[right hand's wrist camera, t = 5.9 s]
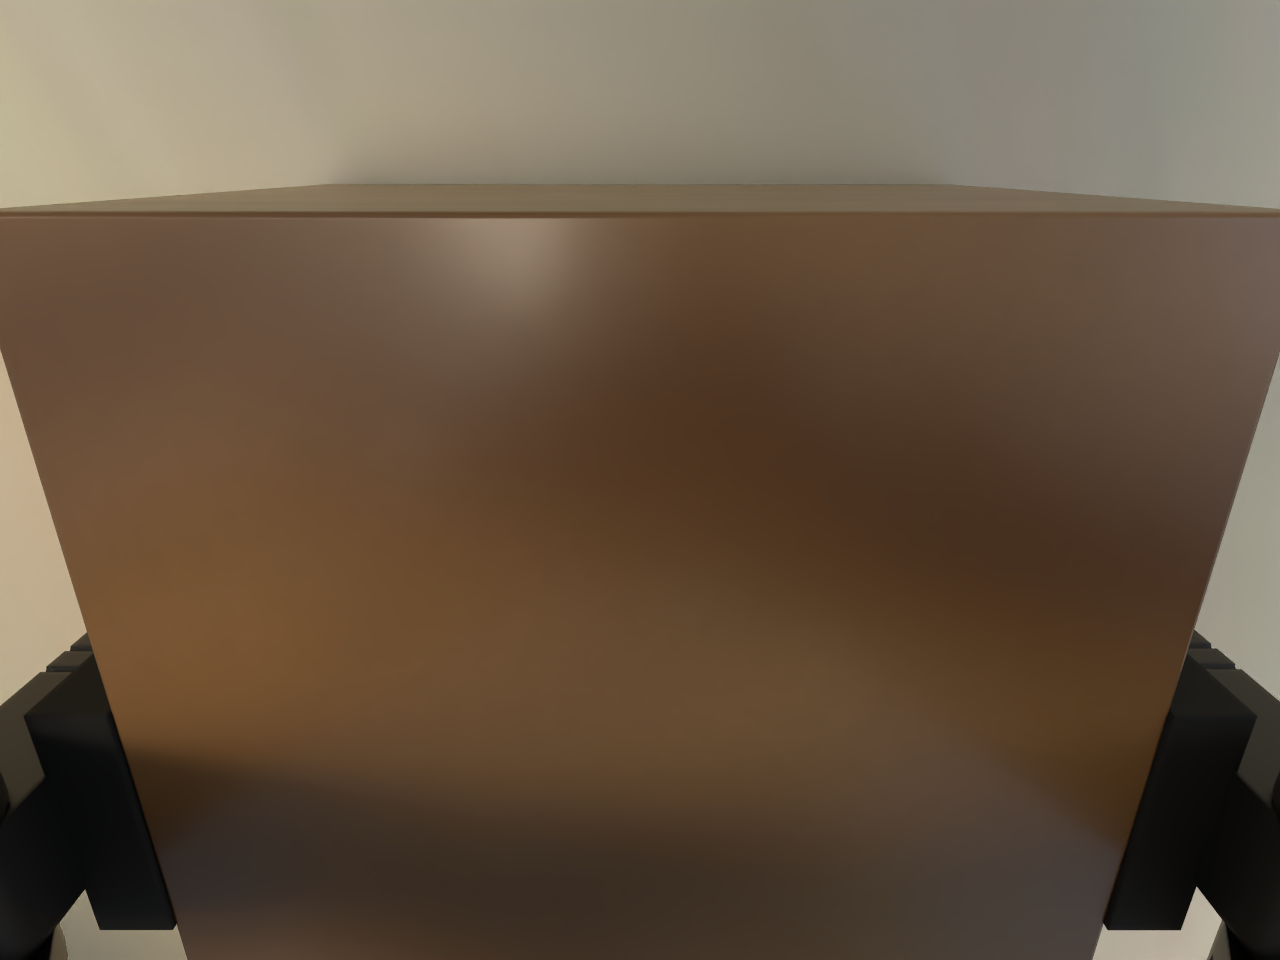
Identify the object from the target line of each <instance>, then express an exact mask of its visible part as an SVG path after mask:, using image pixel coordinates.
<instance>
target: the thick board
mask: <svg viewBox="0 0 1280 960" xmlns="http://www.w3.org/2000/svg"><path fill="white" fill-rule="evenodd" d="M0 349H1V352H2V356H3V359H4V362H5V365H6V369H7V372H8V375H9V379H10V382H11V385H12V388H13V392H14V395H15V398H16V401H17V405H18V408H19V411H20V414H21V418H22V421H23V424H24V427H25V431H26V434H27V437H28V440H29V444H30V447H31V450H32V453H33V457H34V460H35V463H36V467H37V470H38V473H39V476H40V480H41V483H42V486H43V489H44V493H45V496H46V499H47V502H48V506H49V509H50V512H51V515H52V519H53V522H54V525H55V528H56V532H57V535H58V538H59V541H60V545H61V548H62V551H63V555H64V558H65V561H66V564H67V568H68V571H69V574H70V577H71V581H72V584H73V587H74V590H75V594H76V597H77V600H78V603H79V607H80V610H81V613H82V616H83V620H84V623H85V626H86V629H87V633H88V636H89V639H90V642H91V646H92V649H93V652H94V656H95V659H96V662H97V665H98V669H99V672H100V675H101V678H102V682H103V685H104V688H105V691H106V695H107V698H108V701H109V704H110V708H111V711H112V714H113V717H114V721H115V724H116V727H117V730H118V734H119V737H120V740H121V744H122V747H123V750H124V753H125V757H126V760H127V763H128V766H129V770H130V773H131V776H132V779H133V783H134V786H135V789H136V792H137V796H138V799H139V802H140V805H141V809H142V812H143V815H144V818H145V822H146V825H147V828H148V832H149V835H150V838H151V841H152V845H153V848H154V851H155V854H156V858H157V861H158V864H159V867H160V871H161V874H162V877H163V880H164V884H165V887H166V890H167V893H168V897H169V900H170V903H171V906H172V910H173V913H174V916H175V920H176V923H177V926H178V929H179V933H180V936H181V939H182V942H183V946H184V949H185V952H186V955H187V959H188V960H1092V959H1093V956H1094V952H1095V949H1096V946H1097V943H1098V939H1099V936H1100V933H1101V930H1102V927H1103V923H1104V920H1105V917H1106V914H1107V910H1108V907H1109V904H1110V901H1111V897H1112V894H1113V891H1114V888H1115V884H1116V881H1117V878H1118V875H1119V871H1120V868H1121V865H1122V862H1123V858H1124V855H1125V852H1126V849H1127V845H1128V842H1129V839H1130V836H1131V833H1132V829H1133V826H1134V823H1135V820H1136V816H1137V813H1138V810H1139V807H1140V803H1141V800H1142V797H1143V794H1144V790H1145V787H1146V784H1147V781H1148V777H1149V774H1150V771H1151V768H1152V764H1153V761H1154V758H1155V755H1156V752H1157V748H1158V745H1159V742H1160V739H1161V735H1162V732H1163V729H1164V726H1165V722H1166V719H1167V716H1168V713H1169V709H1170V706H1171V703H1172V700H1173V696H1174V693H1175V690H1176V687H1177V683H1178V680H1179V677H1180V674H1181V670H1182V667H1183V664H1184V661H1185V658H1186V654H1187V651H1188V648H1189V645H1190V641H1191V638H1192V635H1193V632H1194V628H1195V625H1196V622H1197V619H1198V615H1199V612H1200V609H1201V606H1202V602H1203V599H1204V596H1205V593H1206V589H1207V586H1208V583H1209V580H1210V576H1211V573H1212V570H1213V567H1214V564H1215V560H1216V557H1217V554H1218V551H1219V547H1220V544H1221V541H1222V538H1223V534H1224V531H1225V528H1226V525H1227V521H1228V518H1229V515H1230V512H1231V508H1232V505H1233V502H1234V499H1235V495H1236V492H1237V489H1238V486H1239V483H1240V479H1241V476H1242V473H1243V470H1244V466H1245V463H1246V460H1247V457H1248V453H1249V450H1250V447H1251V444H1252V440H1253V437H1254V434H1255V431H1256V427H1257V424H1258V421H1259V418H1260V414H1261V411H1262V408H1263V405H1264V401H1265V398H1266V395H1267V392H1268V389H1269V385H1270V382H1271V379H1272V376H1273V372H1274V369H1275V366H1276V363H1277V359H1278V356H1279V353H1280V209H1273V208H1259V207H1246V206H1232V205H1219V204H1205V203H1192V202H1178V201H1165V200H1151V199H1138V198H1124V197H1110V196H1097V195H1083V194H1070V193H1056V192H1043V191H1029V190H1016V189H1002V188H989V187H975V186H962V185H349V184H327V185H313V186H299V187H286V188H272V189H258V190H245V191H231V192H218V193H204V194H190V195H177V196H163V197H149V198H136V199H122V200H109V201H95V202H81V203H68V204H54V205H40V206H27V207H13V208H0Z"/></svg>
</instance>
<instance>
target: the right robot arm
mask: <svg viewBox="0 0 1280 960" xmlns="http://www.w3.org/2000/svg"><path fill="white" fill-rule="evenodd" d="M46 668H47V670H46V672H40V673H39V674H38V675H36V676H35V677H34V678H33V679H32V680H31V681H29V682H28V683H27V684H26V685H25V686H23V687H22V688H21V689H20V690H19V691H18V692H16V693H15V694H14V695H13V696H12V697H11V698H9V699H8V700H7V701H6V702H5V703H3V704H2V705H1V706H0V960H67V958H68V953H67V947H66V942H65V937H64V935H63V932H62V930H61V927H60V924H59V922H60V921H61V920H62V918H63V917H64V916H65V914H66V913H67V912H68V910H69V909H70V908H71V907H72V905H73V904H74V903H75V901H76V900H77V899H78V897H79V896H80V895H81V893H82V892H83V891H84V890H86V892H87V895H88V898H89V901H90V904H91V906H92V909H93V912H94V915H95V918H96V920H97V923H98V926H99V929H100V930H173V929H174V927H175V926H176V924H177V923H176V920H175V916H174V913H173V910H172V906H171V903H170V900H169V897H168V893H167V890H166V887H165V884H164V880H163V877H162V874H161V871H160V867H159V864H158V861H157V858H156V854H155V851H154V848H153V845H152V841H151V838H150V835H149V832H148V828H147V825H146V822H145V818H144V815H143V812H142V809H141V805H140V802H139V799H138V796H137V792H136V789H135V786H134V783H133V779H132V776H131V773H130V770H129V766H128V763H127V760H126V757H125V753H124V750H123V747H122V744H121V740H120V737H119V734H118V730H117V727H116V724H115V721H114V717H113V714H112V711H111V708H110V704H109V701H108V698H107V695H106V691H105V688H104V685H103V682H102V678H101V675H100V672H99V669H98V665H97V662H96V659H95V656H94V652H93V649H92V646H91V642H90V639H89V636H88V633H86V634H85V635H83V636H82V637H81V638H80V639H79V640H78V641H76V642H75V643H74V644H73V645H72V646H71V649H70V651H65V652H63V653H62V654H61V655H60V656H59V657H58V658H56V659H55V660H54V661H53V662H52V663H51V664H49V665H48V666H47V667H46ZM1196 886H1197V887H1198V888H1199V890H1200V891H1201V892H1202V894H1203V895H1204V896H1205V898H1206V899H1207V900H1208V901H1209V903H1210V904H1211V905H1212V907H1213V908H1214V909H1215V911H1216V912H1217V913H1218V914H1219V916H1220V917H1221V918H1222V922H1221V924H1220V927H1219V930H1218V932H1217V935H1216V937H1215V940H1214V943H1213V945H1212V948H1211V950H1210V953H1209V956H1208V958H1207V960H1280V702H1279V701H1278V700H1277V699H1276V698H1275V697H1274V696H1272V695H1271V694H1270V693H1269V692H1268V691H1266V690H1265V689H1264V688H1263V687H1262V686H1261V685H1259V684H1258V683H1257V682H1256V681H1255V680H1253V679H1252V678H1251V677H1250V676H1249V675H1247V674H1246V673H1245V672H1244V671H1243V670H1242V669H1236V668H1235V664H1234V663H1233V662H1232V661H1231V660H1230V659H1228V658H1227V657H1226V656H1225V655H1224V654H1223V653H1221V652H1220V651H1219V650H1218V649H1212V648H1211V643H1210V642H1208V641H1207V640H1206V639H1205V638H1204V637H1202V636H1201V635H1200V634H1199V633H1198V632H1196V631H1195V630H1194V632H1193V635H1192V638H1191V641H1190V645H1189V648H1188V651H1187V654H1186V658H1185V661H1184V664H1183V667H1182V670H1181V674H1180V677H1179V680H1178V683H1177V687H1176V690H1175V693H1174V696H1173V700H1172V703H1171V706H1170V709H1169V713H1168V716H1167V719H1166V722H1165V726H1164V729H1163V732H1162V735H1161V739H1160V742H1159V745H1158V748H1157V752H1156V755H1155V758H1154V761H1153V764H1152V768H1151V771H1150V774H1149V777H1148V781H1147V784H1146V787H1145V790H1144V794H1143V797H1142V800H1141V803H1140V807H1139V810H1138V813H1137V816H1136V820H1135V823H1134V826H1133V829H1132V833H1131V836H1130V839H1129V842H1128V845H1127V849H1126V852H1125V855H1124V858H1123V862H1122V865H1121V868H1120V871H1119V875H1118V878H1117V881H1116V884H1115V888H1114V891H1113V894H1112V897H1111V901H1110V904H1109V907H1108V910H1107V914H1106V917H1105V920H1104V925H1105V926H1106V928H1107V930H1181V928H1182V925H1183V922H1184V919H1185V917H1186V914H1187V911H1188V908H1189V906H1190V903H1191V900H1192V897H1193V894H1194V892H1195V889H1196Z"/></svg>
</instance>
